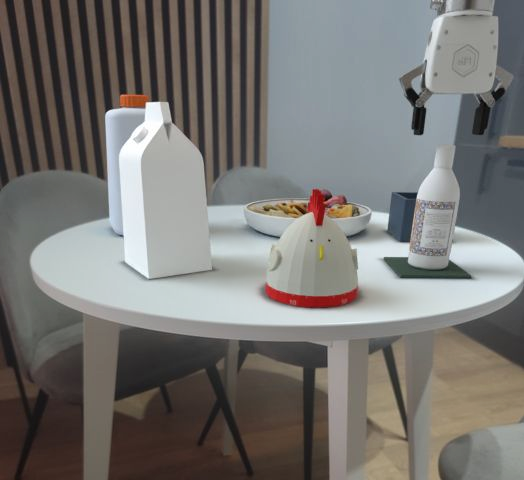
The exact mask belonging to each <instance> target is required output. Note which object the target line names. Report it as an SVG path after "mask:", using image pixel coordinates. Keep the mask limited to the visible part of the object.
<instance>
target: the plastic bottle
mask: <svg viewBox="0 0 524 480" xmlns="http://www.w3.org/2000/svg"><path fill="white" fill-rule="evenodd" d="M146 102H150V97H149V96H148V95H145V94H120V96H119V104H120V105H119V106H120V108H113V109H109V110H108V111H107V112H106V113H105V114H104V115H105V116H104V121H105V123H104V124H105V125H104V126H105V145H106V169H107V171H106V173H107V194H108V215H109V216H108V219H109V225H110V227H111V228H112V231H114V232H115V234H117V235H119V236H123V237H124V234H123V218H122V201H121V185H120V169H119V154H120V151H121V149H122V147H123V146H124V144H125V143H126V142H127V141H128V140H129V138H130V137H131V135H132V133H133V132H134V130H135V129H136V128H137V127H138V126H140V125H142V124H143V123H144V122H145V110H146Z"/></svg>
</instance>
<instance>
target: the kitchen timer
mask: <svg viewBox="0 0 524 480" xmlns="http://www.w3.org/2000/svg"><path fill="white" fill-rule="evenodd" d="M311 190H312V191H311V195H309V199H310V202H308V213H307V214H305V215H303V216H301V217H300V218H298V219H297V220H295V221H294V222H293V223H292V224H291V225H290V226H289V227H288V228H287V229H286V230H285V232H284V233H283V234H282V236H281V237H279V239H278V240H277V243H276V244H274V243H273V244H272V245H271V247H270V251H269V257H268V262H267V266H266V267H267V270H266V271H267V272H266V278H265V294H266V295H267V297H268V298H270V299H272V300H273V301H276V302H278V303H282V304H284V305H288V306H289V305H290V306H294V307H299V308H300V307H302V308H330V307H331V308H332V307H339V306H342V305H346V304H349V303H351V302H353V301H355V300H356V298H357V296H358V288H359V276H358V270H359V263H358V249H357V248H352V246H351V244H350V242H349V239H348V238H347V237H346V236H345V234H344V232H343V231H342V229H341V228H340V227H339V226H338V224H337V223H336V222H335V221H334V220H332V219H331V218H330V217H328V216H327V215H325V207H326V205H323V204H324V194H321V191H319V190H320V189H319V188H312V189H311Z"/></svg>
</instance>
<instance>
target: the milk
mask: <svg viewBox="0 0 524 480" xmlns="http://www.w3.org/2000/svg"><path fill="white" fill-rule="evenodd" d="M204 163H205V162H204V157H203V155H202V153H201V151H200V150H199V148H198V147H197V146H196V145H195V144H194V143H193V142H192V141H191V140H190V139H189V138H188V137H187V136H186V135H185V134H184V133H183V132H182V130H181V129H179V127H177V126H176V124H175V123H173V121H172V114H171V110H170V104H169V102H168V101H149V102H146V110H145V122H144V123H143V124H142V125H140V126H138V127H137V128H136V129H135V130H134V132H133V133H132V135H131V137H130V138H129V140H128V141H127V142H126V143H125V144H124V146H123V147H122V149H121V151H120V154H119V169H120V185H121V201H122V218H123V234H124V236H123V246H124V247H123V248H124V263H126V264H127V265H128V266H130V267H131V268H133V269H134V270H135V271H136V272H138V273H139V274H141V275H142V276H144V277H145V278H146V279H148V280H151V279H152V280H153V279H159V278H165V277H173V276H180V275H185V274H192V273H198V272H199V273H200V272H205V271H206V272H207V271H212V270H213V261H212V252H211V238H210V225H209V212H208V211H209V210H208V200H207V188H206V175H205V164H204Z"/></svg>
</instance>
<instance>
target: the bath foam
mask: <svg viewBox="0 0 524 480" xmlns="http://www.w3.org/2000/svg"><path fill="white" fill-rule="evenodd" d="M455 153H456V144H455V145H454V144H437V145H436V148H435V154H434V161H433V168H432V169H431V170H430V172H429V173H428V174H427V176H426V177H425V178H424V180H423V181H422V182H421V184H420V186H419V189H418V191H417V192H418V194H417V198H416V205H415V212H414V220H413V227H412V234H411V241H410V242H409V248H408V249H409V250H408V255H407V257H408V263H409V265H411V266H413V267H415V268H419V269H425V270H440V269H444V268H446V267H447V266H448V262H449V260H450V256H451V252H452V246H453V240H454V235H455V229H456V224H457V217H458V212H459V207H460V201H461V200H460V198H461V189H460V185H459V182H458V179H457V177H456V174H455V173H454V170H453V165H454V160H455V155H456V154H455Z"/></svg>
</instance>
